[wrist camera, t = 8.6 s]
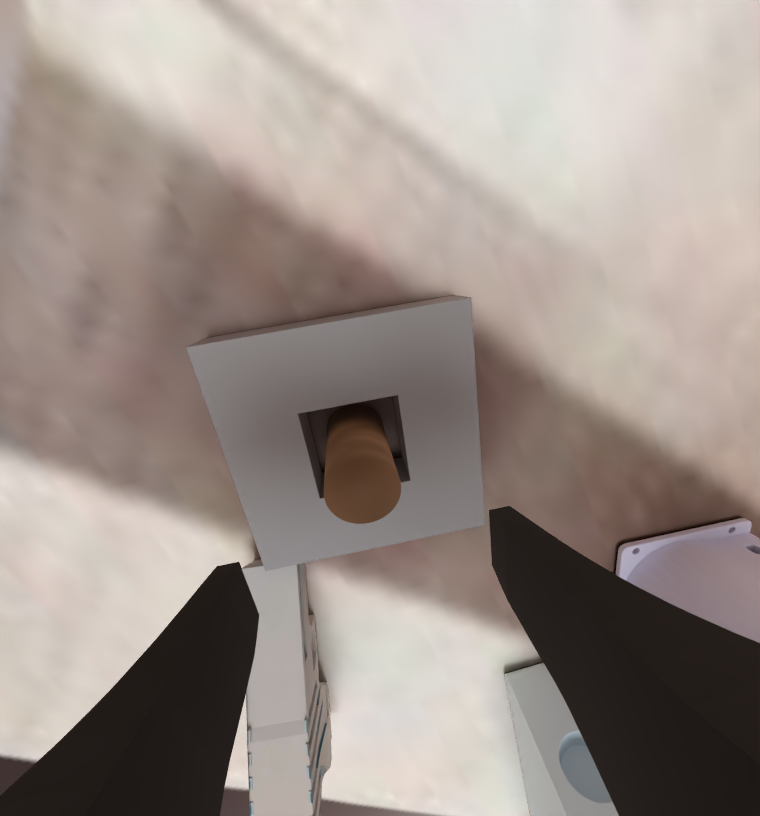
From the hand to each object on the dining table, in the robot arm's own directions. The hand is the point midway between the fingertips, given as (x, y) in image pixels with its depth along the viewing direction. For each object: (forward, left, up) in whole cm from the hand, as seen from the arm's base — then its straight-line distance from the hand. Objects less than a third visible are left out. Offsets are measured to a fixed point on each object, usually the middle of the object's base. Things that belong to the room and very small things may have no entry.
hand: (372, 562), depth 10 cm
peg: (0, 0, -10) cm, 10 cm away
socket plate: (0, 0, -10) cm, 10 cm away
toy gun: (+7, +14, -10) cm, 19 cm away
